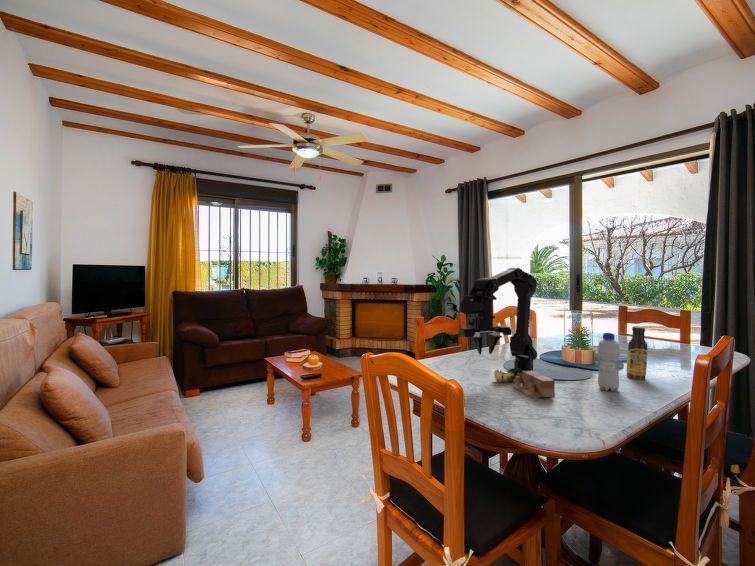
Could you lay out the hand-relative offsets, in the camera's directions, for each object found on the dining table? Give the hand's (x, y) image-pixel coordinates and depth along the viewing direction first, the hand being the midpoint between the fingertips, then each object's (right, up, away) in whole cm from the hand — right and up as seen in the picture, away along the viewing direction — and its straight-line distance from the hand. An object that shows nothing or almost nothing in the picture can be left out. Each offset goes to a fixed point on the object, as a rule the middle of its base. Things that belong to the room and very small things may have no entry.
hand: (485, 354), depth 137 cm
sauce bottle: (+60, -10, +5) cm, 61 cm away
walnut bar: (+15, -10, -12) cm, 21 cm away
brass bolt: (+8, -11, +2) cm, 14 cm away
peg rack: (+14, -11, -9) cm, 20 cm away
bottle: (+41, -11, -8) cm, 43 cm away
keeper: (+14, -11, +3) cm, 18 cm away
